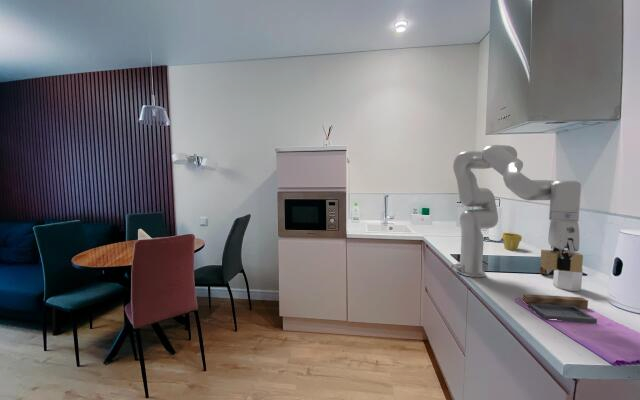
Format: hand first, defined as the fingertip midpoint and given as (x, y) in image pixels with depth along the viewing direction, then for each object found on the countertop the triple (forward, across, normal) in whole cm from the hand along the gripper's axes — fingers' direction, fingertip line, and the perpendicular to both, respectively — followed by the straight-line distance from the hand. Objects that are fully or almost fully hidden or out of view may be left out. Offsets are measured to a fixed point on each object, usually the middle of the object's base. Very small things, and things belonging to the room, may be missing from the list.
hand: (560, 267), depth 92 cm
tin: (+16, +45, -15) cm, 49 cm away
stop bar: (+1, 0, 0) cm, 1 cm away
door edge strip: (+16, +5, -1) cm, 16 cm away
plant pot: (+15, +90, -13) cm, 92 cm away
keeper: (+16, -3, 0) cm, 16 cm away
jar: (+16, +26, -14) cm, 34 cm away
